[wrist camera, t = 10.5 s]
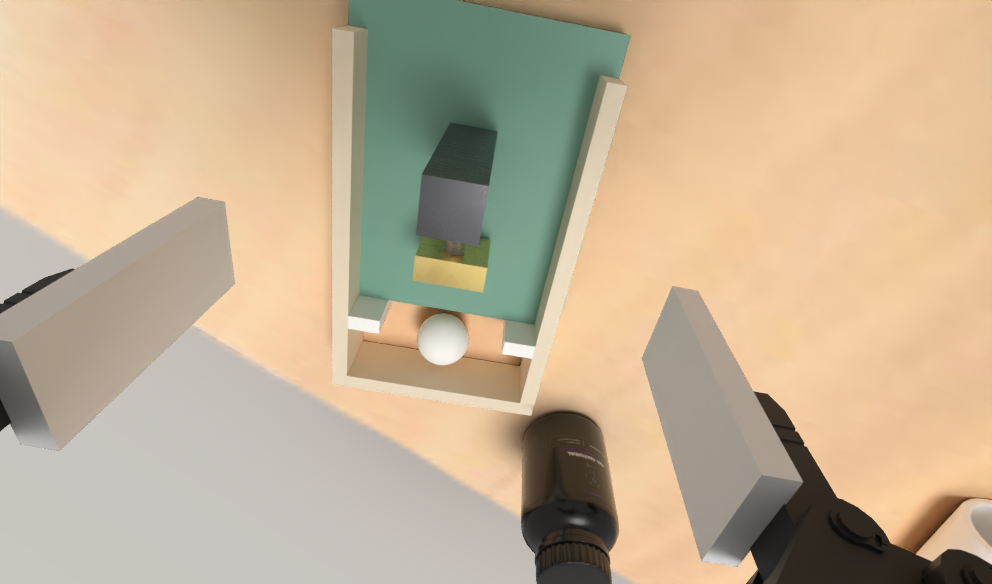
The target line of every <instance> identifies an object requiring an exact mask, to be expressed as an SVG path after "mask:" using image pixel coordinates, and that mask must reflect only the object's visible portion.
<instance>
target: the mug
mask: <svg viewBox="0 0 992 584" xmlns="http://www.w3.org/2000/svg"><path fill="white" fill-rule="evenodd" d="M947 549H959V550H963V551H966V552H968V553H971V554H974V555H976V556H978V557H980V558H981V559H983V560H985V561H987V562H988V563H990V564H992V500H988V499H979V498H976V499H969V500H966V501H964V502H963V503H962V504H961V505H960V506H959V507H958V508H957V509H956V510H955V511H954V512H953V514H952V515H951V516H950V517H949V518H948V519H947V520H946V521H945V522H944V523H943V524H942V526H941V527H940V528H939V529H938V530H937V531H936V532H935V533H934V534H933V535H932V536H931V538H930V539H929V540H928V541H927V542H926V543H925V544H924V545H923V546H922V547H921V548H920V550H919V551H918V552H917V553H916V555H918V556H921V557H923V558H925V559H928V560H930V561H934V560H935V559H936V558H937V557H938V556H939V555H940V554H942V553H943V552H945V551H946V550H947Z"/></svg>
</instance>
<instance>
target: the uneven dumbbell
mask: <svg viewBox="0 0 992 584" xmlns="http://www.w3.org/2000/svg"><path fill="white" fill-rule="evenodd" d="M497 133H498V131H493V130H488V129H483V128H477V127H472V126H467V125H461V124H456V123H451V122H450V124H449V126H448V128H447V129H446V131H445V133H444V135H443V137H442V138H441V140H440V142H439V144H438V146H437V147H436V149H435V151H434V153H433V155H432V156H431V158H430V160H429V162H428V164H427V165H426V167H425V169H424V171H423V173H422V177H421V187H420V198H419V208H418V218H417V228H416V235H417V236H422V240H421V242H420V245H419V247H418V250H417V252H416V255H415V261H414V271H413V281H418V282H423V283H429V284H435V285H441V286H447V287H453V288H459V289H465V290H470V291H476V292H482V293H483V289H484V284H485V278H486V273H487V268H488V259H489V251H490V242H491V240H486V239H480V235H481V229H482V224H483V218H484V212H485V206H486V201H487V195H488V189H489V183H490V177H491V171H492V164H493V158H494V152H495V146H496V140H497Z"/></svg>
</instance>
